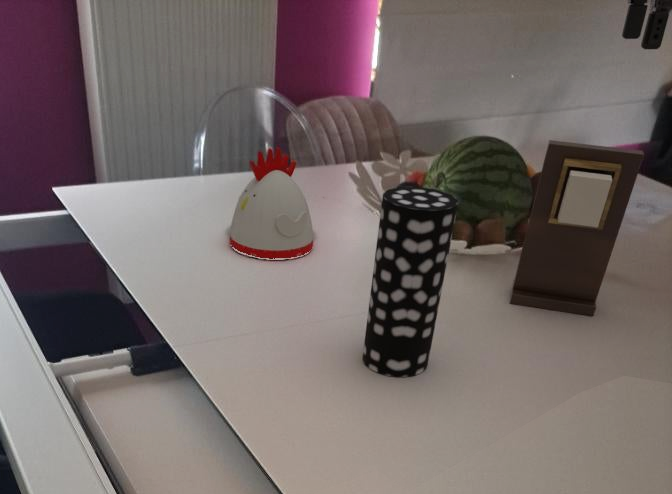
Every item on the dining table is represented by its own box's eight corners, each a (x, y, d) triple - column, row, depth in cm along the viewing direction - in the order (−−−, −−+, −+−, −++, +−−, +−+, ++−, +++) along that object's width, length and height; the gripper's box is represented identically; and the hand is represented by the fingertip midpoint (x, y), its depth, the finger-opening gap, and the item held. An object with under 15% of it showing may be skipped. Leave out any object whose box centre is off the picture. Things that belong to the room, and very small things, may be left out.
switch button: (557, 216, 101) (570, 170, 97) (597, 222, 100) (611, 175, 96) (557, 222, 99) (570, 175, 95) (597, 227, 98) (612, 180, 94)
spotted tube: (348, 357, 94) (367, 194, 81) (392, 339, 99) (416, 182, 86) (397, 384, 90) (424, 215, 77) (440, 364, 94) (473, 201, 81)
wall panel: (511, 288, 114) (549, 136, 101) (591, 300, 112) (641, 147, 98) (509, 303, 110) (549, 146, 96) (593, 316, 108) (645, 158, 94)
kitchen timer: (215, 238, 125) (213, 141, 115) (283, 226, 131) (287, 133, 121) (258, 266, 116) (260, 164, 107) (328, 252, 122) (337, 154, 113)
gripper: (739, -123, 79) (688, 53, 90) (693, -122, 90) (652, 35, 101) (668, -122, 80) (625, 53, 90) (630, -121, 91) (596, 35, 101)
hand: (639, 43), depth 96 cm, fingers open, 8 cm apart
